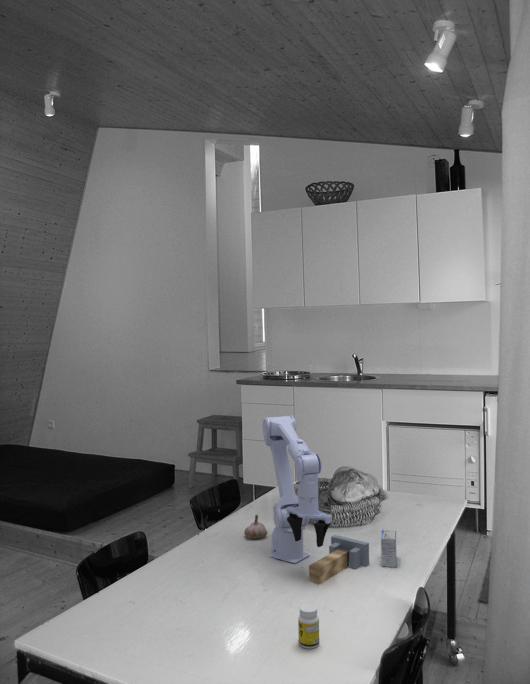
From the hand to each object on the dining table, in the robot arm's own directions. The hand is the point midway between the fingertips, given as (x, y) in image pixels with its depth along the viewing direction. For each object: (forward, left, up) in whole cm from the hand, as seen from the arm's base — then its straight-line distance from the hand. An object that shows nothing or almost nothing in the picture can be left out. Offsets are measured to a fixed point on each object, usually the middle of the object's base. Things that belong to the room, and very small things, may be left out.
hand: (308, 543), depth 180 cm
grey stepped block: (+4, +15, -9) cm, 18 cm away
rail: (+4, +5, -9) cm, 11 cm away
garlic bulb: (-32, +15, -10) cm, 37 cm away
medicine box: (+14, +22, -10) cm, 28 cm away
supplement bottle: (+21, -31, -10) cm, 39 cm away
